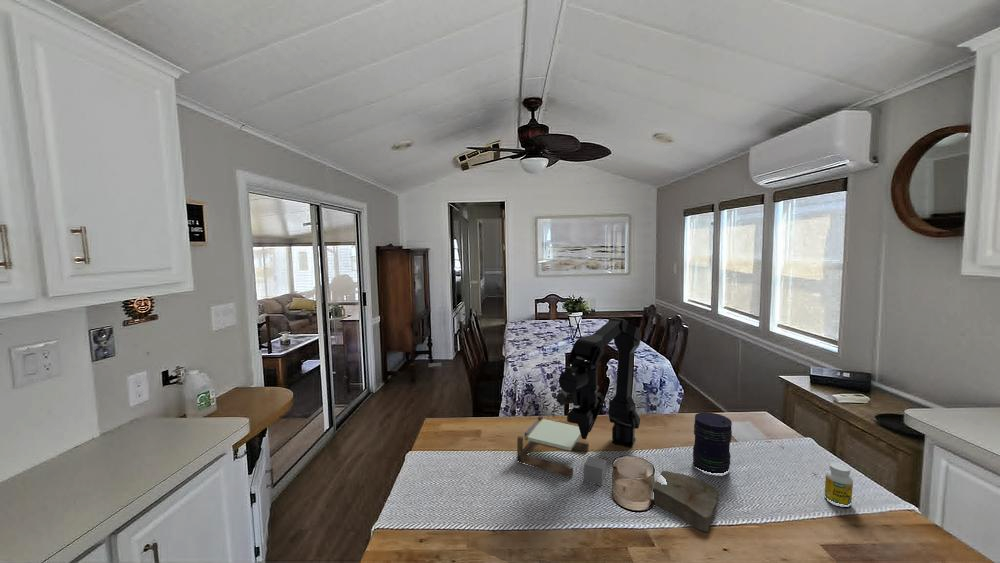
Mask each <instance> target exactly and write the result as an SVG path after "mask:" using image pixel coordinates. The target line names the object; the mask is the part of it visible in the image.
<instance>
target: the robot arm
mask: <svg viewBox="0 0 1000 563" xmlns="http://www.w3.org/2000/svg"><path fill="white" fill-rule="evenodd" d="M642 334H643V333H642V330H640V328H639V327H638V326H636V325H634V324H631V323H630V322H628V321H627V320H626V319H624V318H619V317H610V318H609V319H608V321H607V322H606V323H605V324H603V325H602V326H601V327H600V328H599V329H597V330H596V331H594V332H593V333H592V334H591V335H585V336H582V337H580V338H578V339H576V341H575V342H574V344H573V345H572V348H571V351H570V354H569V357H568V359H567V361H566V363H567V364H568V366H565V367H564V369H565V370H564V371H563V372H561V374H560V375H559V377H558V383H559V387H560V388H561V391H559V392H558V393H557V394H556V400H555V402H557V403H558V404H559V406H561V407H562V406H564V405H569V404H572V405H573V406H574V407H572V408H571V409H570V410H569V411H568V412H567V414H566V421H567V422H568V423H570V424H571V423H572V424H575V425H576V424H577V426H578V427H579V430H580V433H581V437H580V438H581V439H583V440H587V438H588V435H589V433H591V431H592V430H593V428H594V425H595V423H596V420H597V418H598V416H599V414H600V411H601V409H602V406H603V405H604V404H605V395H604V394H603V393H602V392H598V391H599V389H600V385H599V384H598V372H599V368H598V367H599V366H601V364H602V363H601V361H600V360H601V358H602V356H604V354H605V351H604V350H605V347H607V345H609V344H610V343H611V342H612V341H613V344H614V345H615V348H616V350H617V353H618V356H617V369H616V370H617V371H616V385H615V395H614V397H612V399H610V400H609V402H608V404H609V405H608V409H607V411H608V412H607V413H608V418H609V423H613V426H612V428H611V429H612V430H611V433H612V434H611V435H612V436H611V437H612V442H611V443H612V444H616V445H619V446H625V447H629V448H633V447H634V444H635V442H636V437H635V434H636V430H635V429H639V428H640V424H641V417H640V416H639V414H638V413H637V410H636V403H635V401H634V399H633V398H632V397H633V396H632V386H633V385H632V384H633V371H634V370H633V369H634V354H635V352H636V350H637V349H638V348H639V346H640V342H641V340H642V336H643V335H642ZM569 365H570V366H569ZM599 404H600V405H601V406H600V405H599Z"/></svg>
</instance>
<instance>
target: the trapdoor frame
mask: <svg viewBox="0 0 1000 563" xmlns="http://www.w3.org/2000/svg"><path fill="white" fill-rule="evenodd" d="M542 419H544V418H543V416H542V415H538V417H537V420H539V421H541V420H542ZM523 440H524V439H523V436H522V435H518V436H517V442H516V443H517V444H516V445H517V446H516V447H517V451H516V452H517V454H516V455H517V456H516V457H517V460H516V461H519V462H521V463H525V464H528V465H531V466H534V467H533V468H535V467H538V468H537V469H539V468H541V469H540V470H542V469H544V470H543V471H546V470H547V471H546V472H549V471H551V472H550V473H553V472H554V473H553V474H556V473H558V474H557V475H560V474H561V476H563V475H564V477H567V476H569V477H568V478H571V477H572V478H573V476H574V467H573V466H569V465H565V464H563V463H558V462H554V461H550V460H547V459H543V458H539V457H536V456H532V455H530V454H531V453H532V452H533V450H535V448H536V447H538V445H539V444H540V443H537V442H533V441H528V443H527V444H526V445H525V446H524V445H523V444H524V443H523V442H524V441H523ZM523 446H524V447H523ZM589 446H590V445H589V442H587V441H582V440H579V439H578V441H577V442H576V444H575V445H574V447H573V448H572V449H574V450H578V451H583V452H585V453H587V452H589V450H590V448H589ZM531 451H532V452H531ZM530 452H531V453H530ZM528 453H530V454H529V455H527V454H528ZM521 463H520V464H521ZM528 465H527V466H528ZM531 466H530V467H531Z"/></svg>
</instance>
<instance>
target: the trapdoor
mask: <svg viewBox="0 0 1000 563" xmlns="http://www.w3.org/2000/svg"><path fill="white" fill-rule="evenodd" d="M580 438H582V437H581V433H580V430H579V426H578V425H577V426H576V425H573V424H567V423H564V422H558V421H555V420H549V419H546V418H543V419H542V420H541V421H539V420H538V419H537V420H535V422H533V424H531V426H530V427H529V428H528V429H526V431H525V432H524V440H525V441H528V442H530V441H533V442H537V443H539V444H543V445H545V446H549V447H553V448H557V449H561V450H566V451H572V450H573V449H574V448H573V447H574V445H575V444H576V442H577V441H578V440H579V439H580Z"/></svg>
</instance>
